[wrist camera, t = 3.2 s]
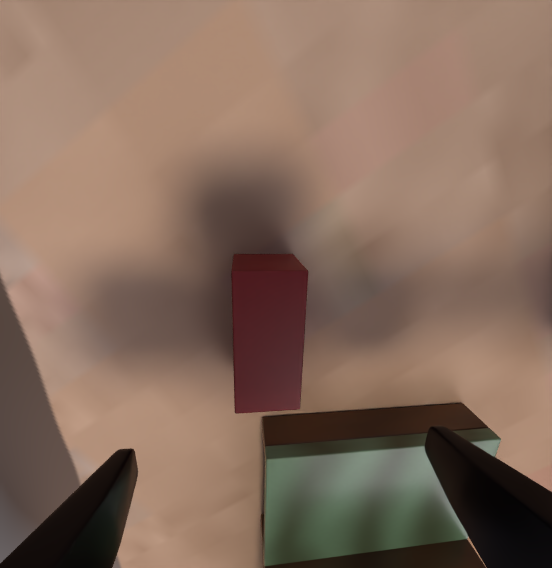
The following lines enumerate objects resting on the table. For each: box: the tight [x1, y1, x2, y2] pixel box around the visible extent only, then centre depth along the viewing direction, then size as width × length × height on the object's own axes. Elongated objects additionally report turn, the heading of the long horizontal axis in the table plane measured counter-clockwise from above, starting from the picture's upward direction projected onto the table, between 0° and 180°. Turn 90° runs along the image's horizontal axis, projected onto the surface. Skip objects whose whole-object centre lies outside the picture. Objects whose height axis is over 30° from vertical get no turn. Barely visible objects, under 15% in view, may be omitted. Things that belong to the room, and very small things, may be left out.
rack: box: [261, 403, 501, 568], centre depth 20 cm, size 16×20×8 cm
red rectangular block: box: [231, 254, 308, 414], centre depth 16 cm, size 4×8×4 cm, turn 178°
